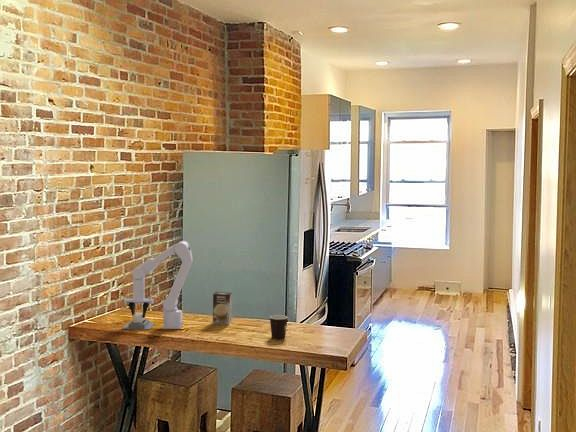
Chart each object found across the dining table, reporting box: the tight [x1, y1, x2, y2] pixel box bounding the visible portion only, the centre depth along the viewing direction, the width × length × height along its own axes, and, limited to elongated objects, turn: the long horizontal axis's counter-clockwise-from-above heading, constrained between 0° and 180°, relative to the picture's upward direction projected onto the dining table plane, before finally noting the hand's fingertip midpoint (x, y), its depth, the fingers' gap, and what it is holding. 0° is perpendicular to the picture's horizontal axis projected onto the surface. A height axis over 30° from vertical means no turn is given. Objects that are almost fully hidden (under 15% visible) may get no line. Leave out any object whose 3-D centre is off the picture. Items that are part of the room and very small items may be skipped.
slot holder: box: [121, 318, 156, 331], centre depth 332 cm, size 14×13×2 cm
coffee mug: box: [269, 314, 288, 340], centre depth 314 cm, size 12×9×10 cm
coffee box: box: [211, 291, 233, 326], centre depth 341 cm, size 9×6×16 cm
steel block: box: [132, 311, 146, 324], centre depth 332 cm, size 7×4×5 cm, turn 0°
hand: (138, 317), depth 331 cm, fingers closed on steel block, 4 cm apart
